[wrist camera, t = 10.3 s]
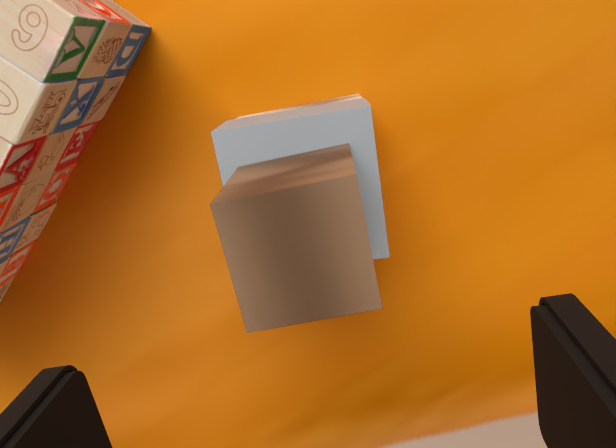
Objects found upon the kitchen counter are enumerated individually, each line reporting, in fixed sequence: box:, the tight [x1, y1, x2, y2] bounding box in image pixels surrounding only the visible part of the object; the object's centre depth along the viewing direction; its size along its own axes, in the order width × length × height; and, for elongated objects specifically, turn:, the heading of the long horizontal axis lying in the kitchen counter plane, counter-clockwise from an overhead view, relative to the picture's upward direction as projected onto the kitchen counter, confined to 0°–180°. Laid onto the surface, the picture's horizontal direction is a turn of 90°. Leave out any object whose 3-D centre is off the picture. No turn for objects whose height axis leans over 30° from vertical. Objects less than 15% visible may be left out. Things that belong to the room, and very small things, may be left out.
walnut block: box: [210, 143, 383, 333], centre depth 21 cm, size 5×5×6 cm
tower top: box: [211, 98, 390, 260], centre depth 26 cm, size 7×7×4 cm
